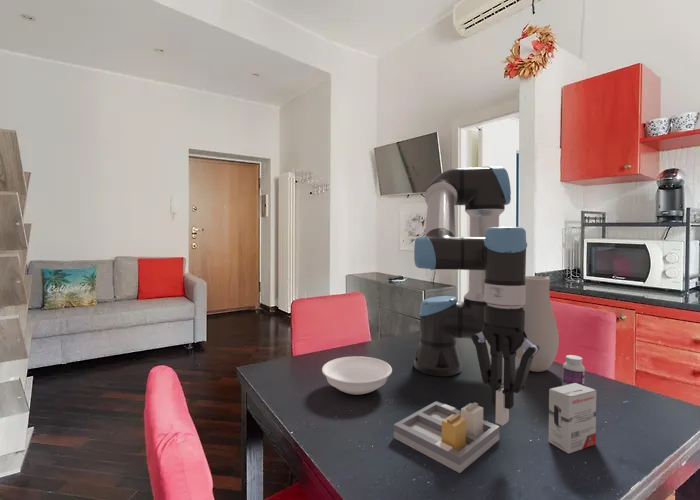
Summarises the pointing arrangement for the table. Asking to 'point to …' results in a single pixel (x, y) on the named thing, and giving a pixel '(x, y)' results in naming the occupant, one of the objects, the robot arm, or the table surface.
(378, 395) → the table surface
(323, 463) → the table surface
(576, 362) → the pill bottle
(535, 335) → the vase
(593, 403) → the ink box
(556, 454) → the table surface
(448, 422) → the amber tab
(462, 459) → the frame
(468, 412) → the ivory tab
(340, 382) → the bowl
